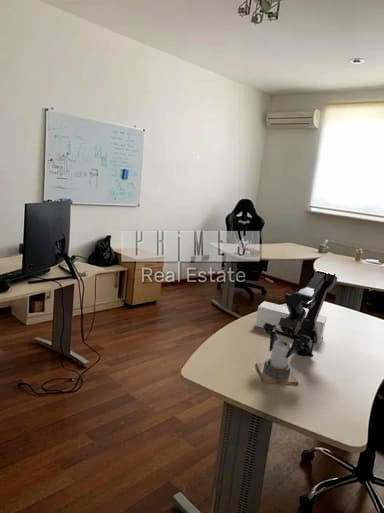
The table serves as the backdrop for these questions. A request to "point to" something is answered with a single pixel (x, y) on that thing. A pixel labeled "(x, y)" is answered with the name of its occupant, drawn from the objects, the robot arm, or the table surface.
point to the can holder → (276, 373)
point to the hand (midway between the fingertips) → (278, 354)
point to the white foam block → (274, 314)
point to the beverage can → (279, 354)
